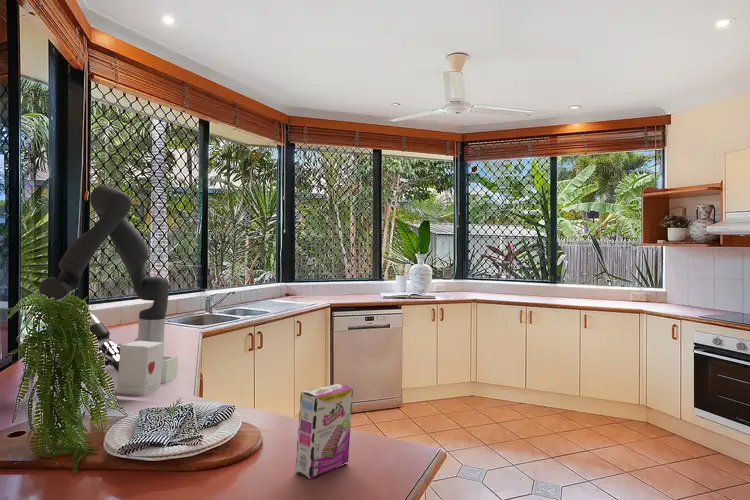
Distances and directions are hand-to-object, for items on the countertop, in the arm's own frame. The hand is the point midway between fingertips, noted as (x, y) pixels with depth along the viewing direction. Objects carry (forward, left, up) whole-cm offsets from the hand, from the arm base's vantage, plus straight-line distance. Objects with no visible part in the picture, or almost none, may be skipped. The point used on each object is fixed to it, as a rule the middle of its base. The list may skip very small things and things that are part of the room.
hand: (124, 372), depth 147 cm
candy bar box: (+69, -42, -6) cm, 81 cm away
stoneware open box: (+5, +13, -6) cm, 15 cm away
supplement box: (+5, 0, -6) cm, 8 cm away
